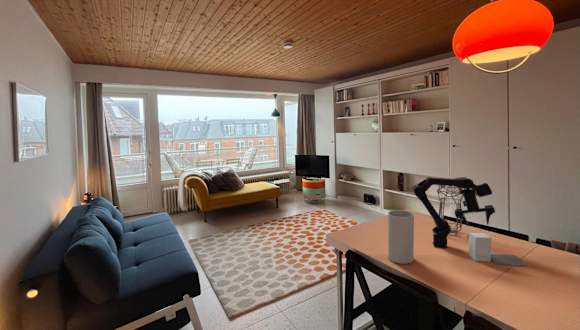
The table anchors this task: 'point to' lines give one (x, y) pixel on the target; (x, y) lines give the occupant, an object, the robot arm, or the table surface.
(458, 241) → the table surface
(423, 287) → the table surface
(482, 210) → the robot arm
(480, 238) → the supplement box
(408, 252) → the cylinder vase
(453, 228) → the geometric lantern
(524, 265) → the mat
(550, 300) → the table surface
